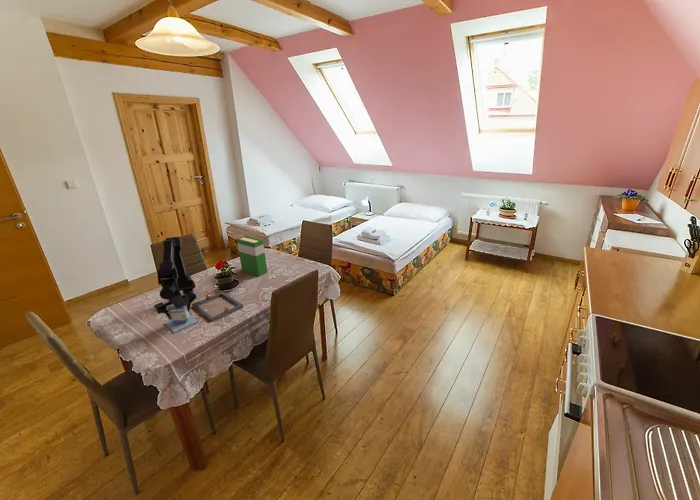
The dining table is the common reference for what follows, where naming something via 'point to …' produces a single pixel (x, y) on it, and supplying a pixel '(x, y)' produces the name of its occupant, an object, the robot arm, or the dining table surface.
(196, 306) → the grey hollow rectangular frame
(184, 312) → the medicine box
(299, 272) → the dining table surface
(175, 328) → the rubber mat
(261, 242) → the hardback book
